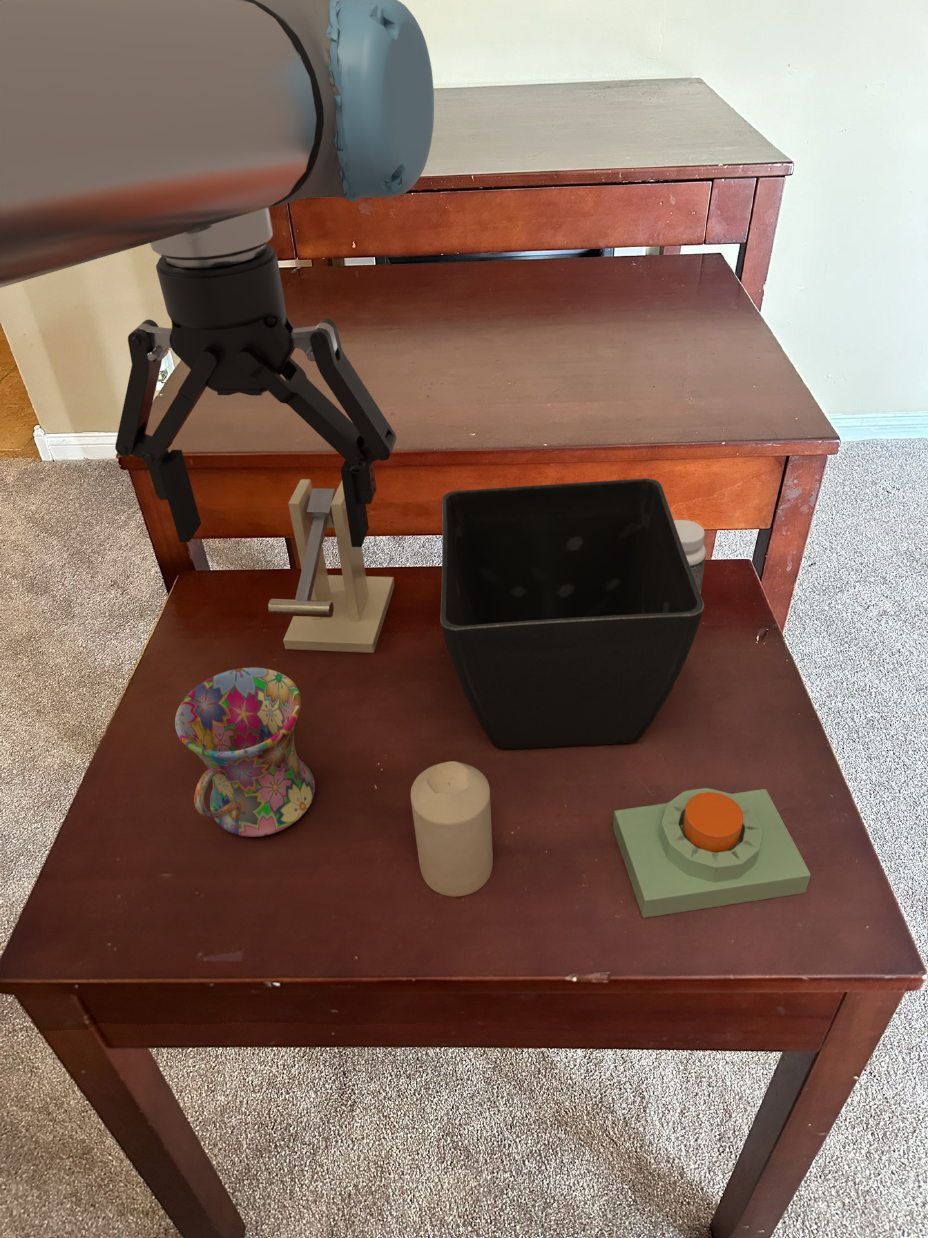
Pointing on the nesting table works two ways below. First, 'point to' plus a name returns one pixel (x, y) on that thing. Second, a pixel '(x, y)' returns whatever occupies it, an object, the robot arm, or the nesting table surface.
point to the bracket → (337, 588)
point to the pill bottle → (693, 547)
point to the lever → (310, 562)
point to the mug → (247, 750)
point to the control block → (707, 857)
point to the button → (712, 821)
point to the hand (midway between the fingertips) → (274, 535)
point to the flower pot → (566, 609)
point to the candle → (453, 828)
